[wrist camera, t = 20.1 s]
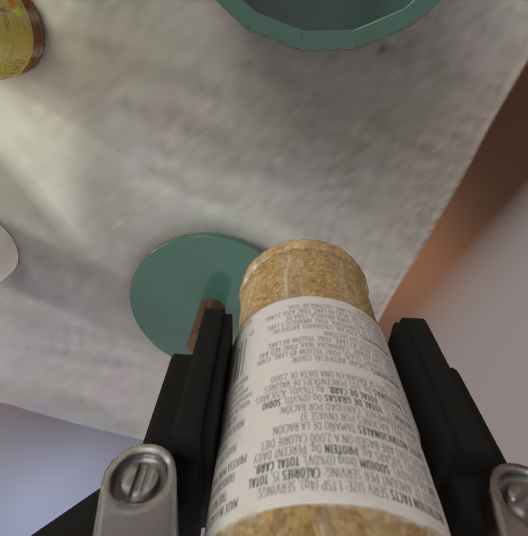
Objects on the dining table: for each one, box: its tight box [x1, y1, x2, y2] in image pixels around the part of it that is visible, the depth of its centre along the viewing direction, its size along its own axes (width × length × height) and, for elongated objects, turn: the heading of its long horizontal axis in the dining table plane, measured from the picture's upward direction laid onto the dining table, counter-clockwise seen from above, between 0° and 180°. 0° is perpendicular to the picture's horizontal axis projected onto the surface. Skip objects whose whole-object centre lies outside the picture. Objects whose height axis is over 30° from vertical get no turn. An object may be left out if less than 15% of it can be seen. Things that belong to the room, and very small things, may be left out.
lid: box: [130, 233, 263, 356], centre depth 35 cm, size 16×16×6 cm
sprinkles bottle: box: [204, 239, 451, 536], centre depth 8 cm, size 5×5×13 cm
